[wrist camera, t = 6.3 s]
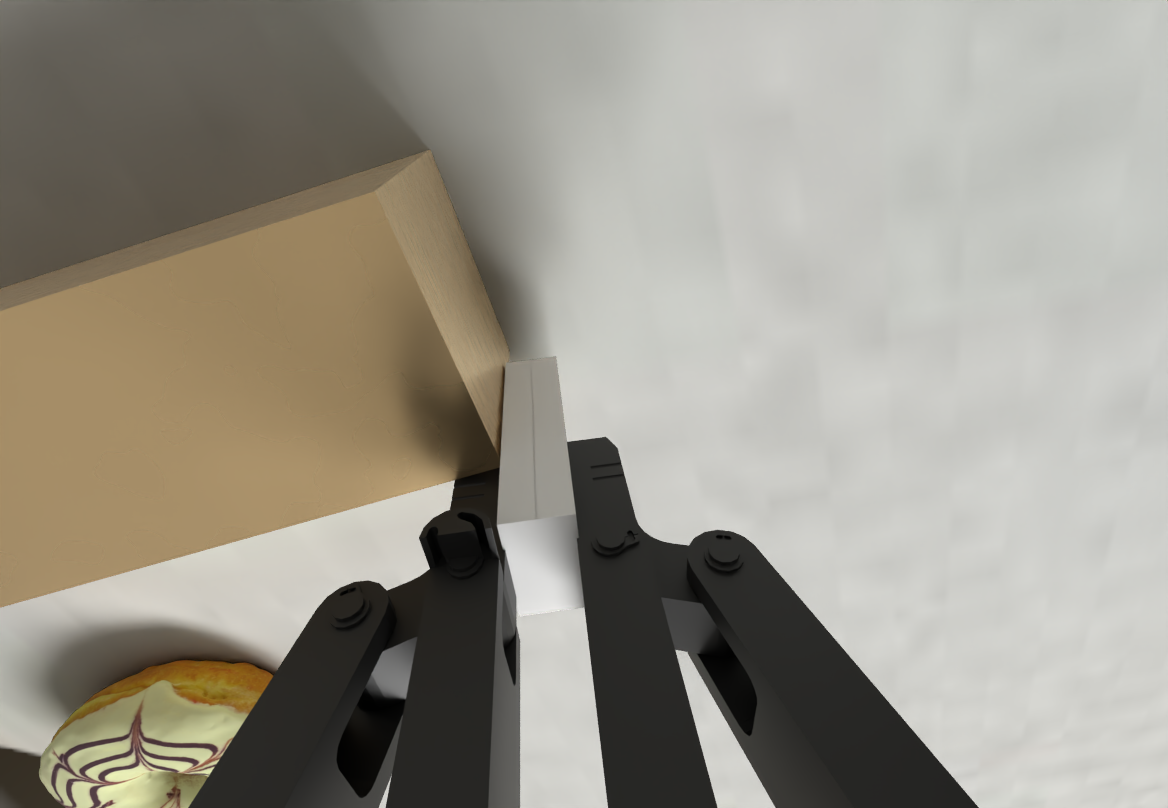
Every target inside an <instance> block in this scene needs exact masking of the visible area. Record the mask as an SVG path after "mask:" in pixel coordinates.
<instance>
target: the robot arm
mask: <svg viewBox="0 0 1168 808" xmlns="http://www.w3.org/2000/svg"><path fill="white" fill-rule="evenodd" d="M419 539H420V542H421V545H422V547H423V550H424V553H425V556H426V559H427V561H428V564H429V567H430V569H429V570H428V571H427V572H425V573H424V574H423V575H421V576H420V577H418V578H416V579H414V580H412V581H410V582H407V583H405V584H402V585H400V586H398V587H395V588H393V589H390V590H388V591H387V590H386V589H384V588H383V587H382V586H381V585H380V584H379V583H375V582H372V581H360V582H354V583H351V584H349V585H346V586H344V587H341V588H339V589H338V590H336V591H335V592H334V593H332V594H331V595H329V596H328V597H327V598H326V599H325V600H324V601H323V602H322V604H321V605H320V606H319V607H318V608H317V610H316V611H315V613H314V614H313V616H312V617H311V619H310V620H309V622H308V623H307V625H306V627H305V628H304V630H303V631H302V633H301V634H300V636H299V637H298V639H297V640H296V642H295V644H294V645H293V647H292V648H291V650H290V651H289V653H288V654H287V656H286V657H285V659H284V661H283V662H282V664H281V665H280V667H279V668H278V670H277V671H276V673H275V674H274V676H273V677H272V679H271V681H270V682H269V684H268V685H267V687H266V688H265V690H264V691H263V693H262V694H261V696H260V698H259V699H258V701H257V702H256V704H255V705H254V707H253V708H252V710H251V711H250V713H249V715H248V716H247V718H246V719H245V721H244V722H243V724H242V725H241V727H240V728H239V730H238V732H237V733H236V735H235V736H234V738H233V739H232V741H231V742H230V744H229V745H228V747H227V749H226V750H225V752H224V753H223V755H222V756H221V758H220V759H219V761H218V762H217V764H216V766H215V767H214V769H213V770H212V772H211V773H210V775H209V776H208V778H207V779H206V781H205V782H204V784H203V786H202V787H201V789H200V790H199V792H198V793H197V795H196V796H195V798H194V799H193V801H192V803H191V804H190V806H189V807H188V808H379V805H380V803H381V800H382V797H383V795H384V792H385V790H386V787H387V785H388V782H389V780H390V777H391V774H392V777H391V782H390V787H389V793H388V798H387V804H386V808H520V639H519V634H518V630H517V626H516V606H517V610H518V614H519V617H520V616H527V615H534V614H541V613H548V612H555V611H562V610H569V609H576V608H583V607H585V615H586V623H587V632H588V640H589V649H590V657H591V666H592V674H593V683H594V691H595V700H596V708H597V717H598V725H599V734H600V742H601V751H602V759H603V768H604V776H605V785H606V793H607V802H608V808H717V804H716V801H715V797H714V793H713V789H712V786H711V782H710V778H709V775H708V771H707V767H706V763H705V760H704V756H703V752H702V748H701V745H700V741H699V737H698V733H697V730H696V726H695V722H694V719H693V715H692V711H691V707H690V704H689V700H688V696H687V692H686V689H685V685H684V681H683V677H682V674H681V670H680V666H679V663H678V659H677V655H676V651H675V650H681V651H686V652H688V654H689V656H690V658H691V660H692V661H693V663H694V665H695V667H696V669H697V670H698V672H699V674H700V676H701V677H702V679H703V681H704V683H705V684H706V686H707V688H708V690H709V691H710V693H711V695H712V697H713V698H714V700H715V702H716V704H717V705H718V707H719V709H720V711H721V712H722V714H723V716H724V718H725V719H726V721H727V723H728V725H729V727H730V728H731V730H732V732H733V734H734V735H735V737H736V739H737V741H738V742H739V744H740V746H741V748H742V749H743V751H744V753H745V755H746V756H747V758H748V760H749V762H750V763H751V765H752V767H753V769H754V770H755V772H756V774H757V776H758V777H759V779H760V781H761V783H762V785H763V786H764V788H765V790H766V792H767V793H768V795H769V797H770V799H771V800H772V802H773V804H774V806H775V807H776V808H979V807H978V806H977V805H976V804H975V803H974V802H973V800H972V799H971V798H970V797H969V796H968V795H967V793H966V792H965V791H964V790H963V789H962V788H961V786H960V785H959V784H958V783H957V782H956V781H955V779H954V778H953V777H952V776H951V775H950V774H949V772H948V771H947V770H946V769H945V768H944V767H943V765H942V764H941V763H940V762H939V761H938V759H937V758H936V757H935V756H934V755H933V754H932V752H931V751H930V750H929V749H928V748H927V747H926V745H925V744H924V743H923V742H922V741H921V740H920V738H919V737H918V736H917V735H916V734H915V733H914V731H913V730H912V729H911V728H910V727H909V726H908V724H907V723H906V722H905V721H904V720H903V719H902V717H901V716H900V715H899V714H898V713H897V711H896V710H895V709H894V708H893V707H892V706H891V704H890V703H889V702H888V701H887V700H886V699H885V697H884V696H883V695H882V694H881V693H880V692H879V690H878V689H877V688H876V687H875V686H874V685H873V683H872V682H871V681H870V680H869V679H868V678H867V676H866V675H865V674H864V673H863V672H862V671H861V669H860V668H859V667H858V666H857V665H856V663H855V662H854V661H853V660H852V659H851V658H850V656H849V655H848V654H847V653H846V652H845V651H844V649H843V648H842V647H841V646H840V645H839V644H838V642H837V641H836V640H835V639H834V638H833V637H832V635H831V634H830V633H829V632H828V631H827V630H826V628H825V627H824V626H823V625H822V624H821V623H820V621H819V620H818V619H817V618H816V617H815V615H814V614H813V613H812V612H811V611H810V610H809V608H808V607H807V606H806V605H805V604H804V603H803V601H802V600H801V599H800V598H799V597H798V596H797V594H796V593H795V592H794V591H793V590H792V589H791V587H790V586H789V585H788V584H787V583H786V582H785V580H784V579H783V578H782V577H781V576H780V575H779V573H778V572H777V571H776V570H775V569H774V568H773V566H772V565H771V564H770V563H769V562H768V560H767V559H766V558H765V557H764V556H763V555H762V553H761V552H760V551H759V550H758V549H757V548H756V546H755V545H754V544H752V543H751V542H750V541H749V540H747V539H746V538H745V537H743V536H741V535H739V534H736V533H734V532H731V531H722V530H714V531H709V532H704V533H702V534H701V535H699V536H697V537H695V538H694V539H693V541H692V542H691V544H690V545H689V546H687V545H680V544H672V543H667V542H662V541H659V540H657V539H655V538H653V537H651V536H649V535H648V534H647V533H645V532H644V531H643V530H642V529H641V527H640V526H639V525H638V522H637V520H636V518H635V514H634V510H633V506H632V502H631V498H630V495H629V491H628V487H627V483H626V479H625V477H624V472H623V468H622V465H621V460H620V456H619V452H618V449H617V447H616V446H615V445H614V444H613V443H612V442H611V441H610V440H609V439H608V438H607V437H602V438H595V439H587V440H579V441H572V442H567V438H566V430H565V422H564V414H563V407H562V399H561V391H560V383H559V375H558V368H557V360H556V357H548V358H540V359H532V360H524V361H516V362H507V363H506V368H505V386H504V404H503V422H502V439H501V457H500V467H499V468H496V469H492V470H488V471H485V472H481V473H478V474H474V475H471V476H467V477H463V478H460V479H456V480H455V483H454V489H453V495H452V501H451V507H450V510H449V511H445V512H444V513H442V514H440V515H438V516H436V517H435V518H433V519H432V520H431V521H430V522H429V523H428V524H427V525H426V526H425V527H424V528H423V531H422V533H421V535H420V537H419Z"/></svg>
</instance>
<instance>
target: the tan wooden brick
mask: <svg viewBox="0 0 1168 808" xmlns="http://www.w3.org/2000/svg"><path fill="white" fill-rule="evenodd" d="M509 351H510V350H509V348H508V345H507V342H506V340H505V337H504V335H503V332H502V330H501V327H500V325H499V322H498V320H497V317H496V315H495V312H494V310H493V307H492V305H491V302H490V299H489V297H488V294H487V292H486V289H485V287H484V284H483V282H482V279H481V277H480V274H479V272H478V269H477V267H476V264H475V262H474V259H473V256H472V254H471V251H470V249H469V246H468V244H467V241H466V239H465V236H464V234H463V231H462V229H461V226H460V224H459V221H458V218H457V216H456V213H455V211H454V208H453V206H452V203H451V201H450V198H449V196H448V193H447V191H446V188H445V186H444V183H443V181H442V178H441V175H440V173H439V170H438V168H437V165H436V163H435V160H434V158H433V155H432V153H431V150H428V151H424V152H421V153H418V154H415V155H412V156H409V157H406V158H403V159H400V160H397V161H393V162H390V163H387V164H384V165H381V166H378V167H375V168H372V169H369V170H366V171H363V172H359V173H356V174H353V175H350V176H347V177H344V178H341V179H338V180H335V181H332V182H328V183H325V184H322V185H319V186H316V187H313V188H310V189H307V190H304V191H301V192H297V193H294V194H291V195H288V196H285V197H282V198H279V199H276V200H273V201H270V202H266V203H263V204H260V205H257V206H254V207H251V208H248V209H245V210H242V211H239V212H235V213H232V214H229V215H226V216H223V217H220V218H217V219H214V220H211V221H208V222H205V223H201V224H198V225H195V226H192V227H189V228H186V229H183V230H180V231H177V232H174V233H170V234H167V235H164V236H161V237H158V238H155V239H152V240H149V241H146V242H143V243H139V244H136V245H133V246H130V247H127V248H124V249H121V250H118V251H115V252H112V253H108V254H105V255H102V256H99V257H96V258H93V259H90V260H87V261H84V262H81V263H78V264H74V265H71V266H68V267H65V268H62V269H59V270H56V271H53V272H50V273H47V274H43V275H40V276H37V277H34V278H31V279H28V280H25V281H22V282H19V283H16V284H12V285H9V286H6V287H3V288H0V607H4V606H7V605H11V604H14V603H18V602H21V601H25V600H29V599H32V598H36V597H39V596H43V595H46V594H50V593H54V592H57V591H61V590H64V589H68V588H71V587H75V586H79V585H82V584H86V583H89V582H93V581H96V580H100V579H103V578H107V577H111V576H114V575H118V574H121V573H125V572H128V571H132V570H136V569H139V568H143V567H146V566H150V565H153V564H157V563H160V562H164V561H168V560H171V559H175V558H178V557H182V556H185V555H189V554H193V553H196V552H200V551H203V550H207V549H210V548H214V547H218V546H221V545H225V544H228V543H232V542H235V541H239V540H242V539H246V538H250V537H253V536H257V535H260V534H264V533H267V532H271V531H275V530H278V529H282V528H285V527H289V526H292V525H296V524H299V523H303V522H307V521H310V520H314V519H317V518H321V517H324V516H328V515H332V514H335V513H339V512H342V511H346V510H349V509H353V508H357V507H360V506H364V505H367V504H371V503H374V502H378V501H381V500H385V499H389V498H392V497H396V496H399V495H403V494H406V493H410V492H414V491H417V490H421V489H424V488H428V487H431V486H435V485H438V484H442V483H446V482H449V481H453V480H456V479H460V478H463V477H467V476H471V475H474V474H478V473H481V472H485V471H488V470H492V469H496V468H499V467H500V457H501V439H502V422H503V404H504V386H505V368H506V363H507V362H509Z"/></svg>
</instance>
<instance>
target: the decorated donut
mask: <svg viewBox="0 0 1168 808" xmlns="http://www.w3.org/2000/svg"><path fill="white" fill-rule="evenodd" d="M272 677H273V675H272V674H270V673H269V672H267V671H266V670H262V669H259V668H257V667H256V666H254V665H252V664H250V663H244V662H242V663H235V664H231V663H228V662H222V661H193V660H180V661H174V662H171V663H168V664H163V665H157V666H151V667H148V668H146V669H144V670H143V671H142V672H140V673H138V674H135V675H132V676H130V677H127V678H125V679H123V680H121V681H119V682H116V683H114V684H113V685H111V686H108V687H107V688H105V689H103V690H102V691H100V692H98V693H96V694H94V695H93V696H92V697H91V698H90V699H89V700H87V701H86V702H85V703H84V705H83V706H81V707H80V708H79V709H77V710H76V711H75V712H74V713H73V714H72V715H71V716H70V717H69V718H68V719H67V720H66V722H65V723H64V724H63V725H62V726H61V727H60V728H59V730H58V731H57V733H56V734H55V735H54V737H53V739H52V741H51V743H50V744H49V746H48V747H47V748H46V750H45V751H44V753H43V755H42V757H41V767H40V770H39V776H40V779H41V781H42V782H43V784H44V785H45V786H46V788H47V789H48V791H49V792H50V793H51V794H52V795H53V797H54V798H55V799H56V801H58V802H59V803H60V804H62V805H63V806H65V807H66V808H188V807H189V806H190V804H191V803H192V801H193V799H194V798H195V796H196V795H197V793H198V792H199V790H200V789H201V787H202V786H203V784H204V782H205V781H206V779H207V778H208V776H209V775H210V773H211V772H212V770H213V769H214V767H215V766H216V764H217V762H218V761H219V759H220V758H221V756H222V755H223V753H224V752H225V750H226V749H227V747H228V745H229V744H230V742H231V741H232V739H233V738H234V736H235V735H236V733H237V732H238V730H239V728H240V727H241V725H242V724H243V722H244V721H245V719H246V718H247V716H248V715H249V713H250V711H251V710H252V708H253V707H254V705H255V704H256V702H257V701H258V699H259V698H260V696H261V694H262V693H263V691H264V690H265V688H266V687H267V685H268V684H269V682H270V681H271V679H272Z"/></svg>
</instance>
